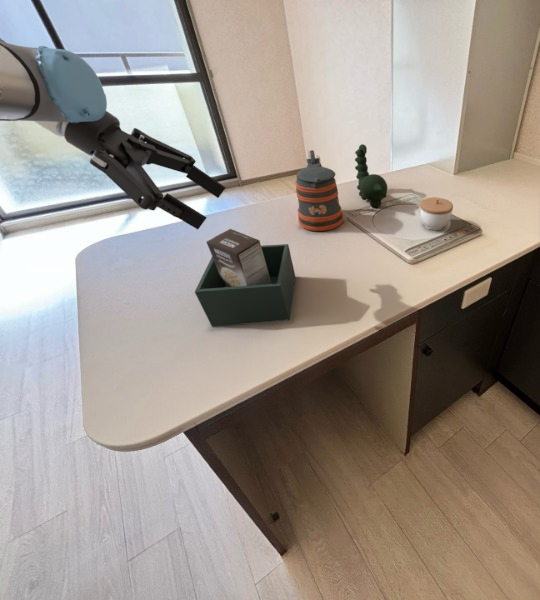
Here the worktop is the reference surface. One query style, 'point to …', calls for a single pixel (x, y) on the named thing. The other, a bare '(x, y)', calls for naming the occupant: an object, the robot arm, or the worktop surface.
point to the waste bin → (250, 292)
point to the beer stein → (318, 197)
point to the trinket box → (435, 212)
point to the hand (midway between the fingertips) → (213, 207)
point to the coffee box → (239, 259)
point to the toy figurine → (369, 180)
